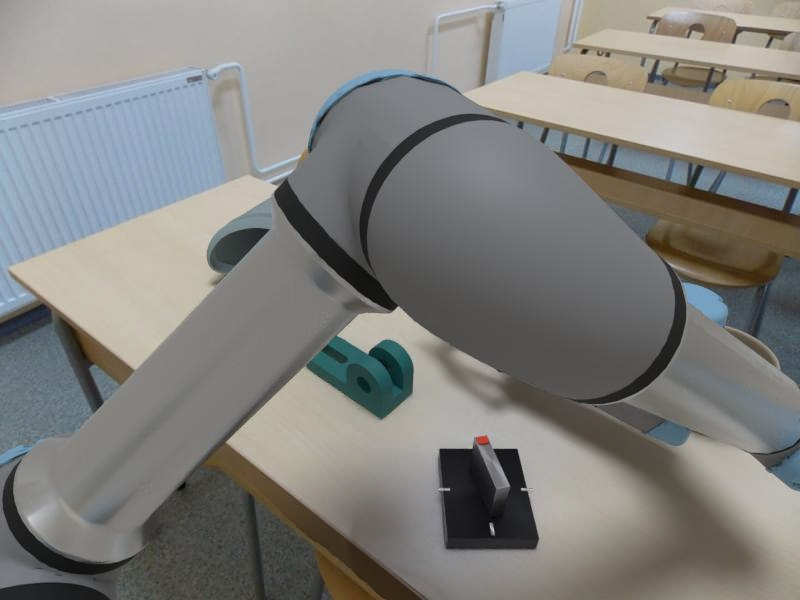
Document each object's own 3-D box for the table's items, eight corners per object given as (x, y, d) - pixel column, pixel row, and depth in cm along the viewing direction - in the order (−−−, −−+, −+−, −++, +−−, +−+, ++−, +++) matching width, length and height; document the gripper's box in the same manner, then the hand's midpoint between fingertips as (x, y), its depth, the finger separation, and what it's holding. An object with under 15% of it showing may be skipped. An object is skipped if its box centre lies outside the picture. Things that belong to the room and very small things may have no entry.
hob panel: (541, 548, 57) (545, 538, 56) (440, 549, 57) (442, 538, 56) (519, 458, 67) (522, 447, 66) (433, 458, 67) (434, 447, 65)
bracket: (412, 392, 76) (414, 352, 71) (381, 419, 72) (381, 378, 67) (327, 339, 85) (324, 301, 81) (296, 360, 81) (291, 321, 76)
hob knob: (503, 515, 58) (510, 484, 55) (489, 518, 58) (496, 487, 55) (481, 464, 64) (487, 433, 60) (469, 466, 63) (474, 435, 60)
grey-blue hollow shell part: (363, 269, 103) (361, 210, 95) (306, 321, 89) (299, 257, 81) (274, 241, 111) (266, 185, 103) (210, 285, 97) (195, 224, 89)
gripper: (538, 418, 65) (396, 339, 77) (591, 353, 76) (458, 292, 88) (549, 375, 61) (397, 298, 73) (603, 313, 71) (462, 254, 83)
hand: (431, 295), depth 80 cm, fingers closed on mug, 3 cm apart
